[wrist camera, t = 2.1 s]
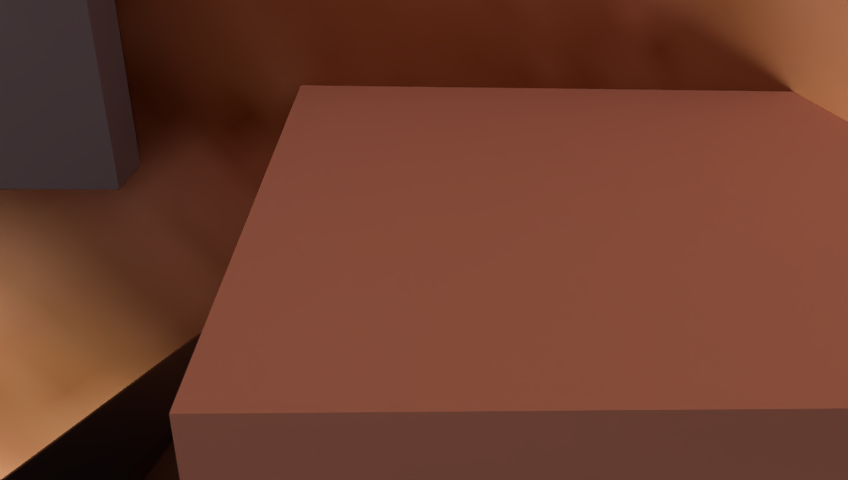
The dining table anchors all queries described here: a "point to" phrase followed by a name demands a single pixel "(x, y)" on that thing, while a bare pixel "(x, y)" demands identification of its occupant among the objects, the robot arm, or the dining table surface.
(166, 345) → the dining table surface
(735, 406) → the cube
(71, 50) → the mat
